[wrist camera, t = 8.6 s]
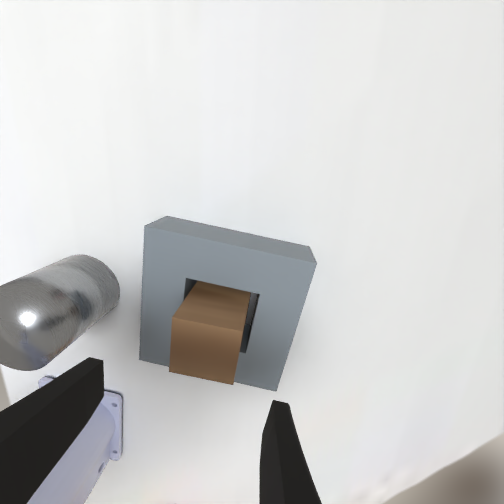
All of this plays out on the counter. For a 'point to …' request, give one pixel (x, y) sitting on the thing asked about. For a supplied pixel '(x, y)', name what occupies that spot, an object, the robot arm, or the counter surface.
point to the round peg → (53, 309)
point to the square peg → (209, 332)
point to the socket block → (229, 275)
